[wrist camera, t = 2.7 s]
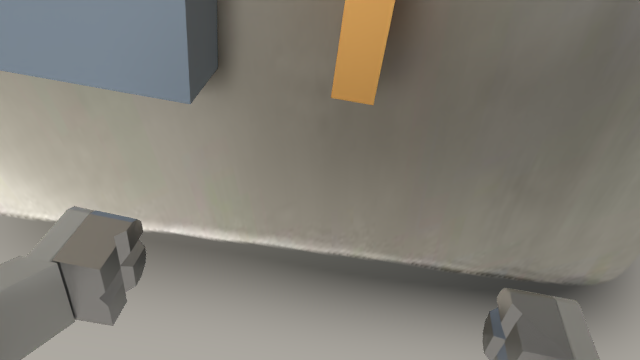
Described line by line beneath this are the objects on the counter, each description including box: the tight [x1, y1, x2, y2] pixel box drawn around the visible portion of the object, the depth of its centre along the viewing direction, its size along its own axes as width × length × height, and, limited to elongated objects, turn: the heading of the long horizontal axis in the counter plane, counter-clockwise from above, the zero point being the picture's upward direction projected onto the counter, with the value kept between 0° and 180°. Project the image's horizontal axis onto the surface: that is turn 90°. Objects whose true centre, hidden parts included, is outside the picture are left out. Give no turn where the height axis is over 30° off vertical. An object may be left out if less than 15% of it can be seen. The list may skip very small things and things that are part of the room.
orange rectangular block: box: [331, 0, 395, 105], centre depth 24 cm, size 5×2×8 cm, turn 173°
